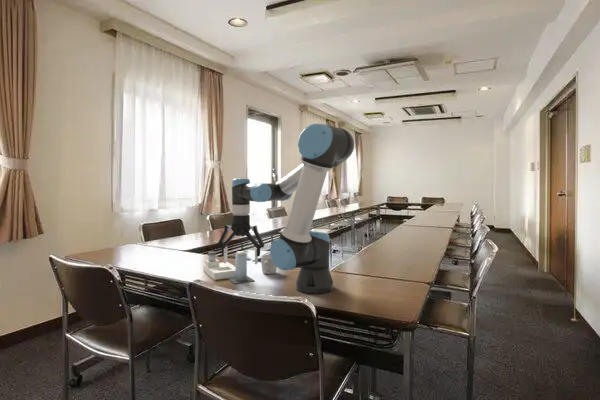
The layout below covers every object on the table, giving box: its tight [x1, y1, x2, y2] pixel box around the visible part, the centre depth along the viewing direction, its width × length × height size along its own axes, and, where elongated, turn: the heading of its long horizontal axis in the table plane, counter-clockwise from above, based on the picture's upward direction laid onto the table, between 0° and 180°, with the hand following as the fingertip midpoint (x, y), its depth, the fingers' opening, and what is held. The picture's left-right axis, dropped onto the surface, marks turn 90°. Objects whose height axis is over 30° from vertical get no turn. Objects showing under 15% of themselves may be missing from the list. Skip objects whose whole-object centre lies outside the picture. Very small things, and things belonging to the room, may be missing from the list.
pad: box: [227, 275, 255, 285], centre depth 151 cm, size 9×9×1 cm
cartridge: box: [235, 250, 248, 281], centre depth 151 cm, size 5×5×12 cm
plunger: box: [207, 251, 217, 262], centre depth 164 cm, size 4×4×6 cm
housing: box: [202, 258, 236, 281], centre depth 162 cm, size 18×12×6 cm, turn 30°
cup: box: [260, 254, 278, 275], centre depth 162 cm, size 11×8×8 cm
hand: (240, 263), depth 151 cm, fingers open, 13 cm apart
